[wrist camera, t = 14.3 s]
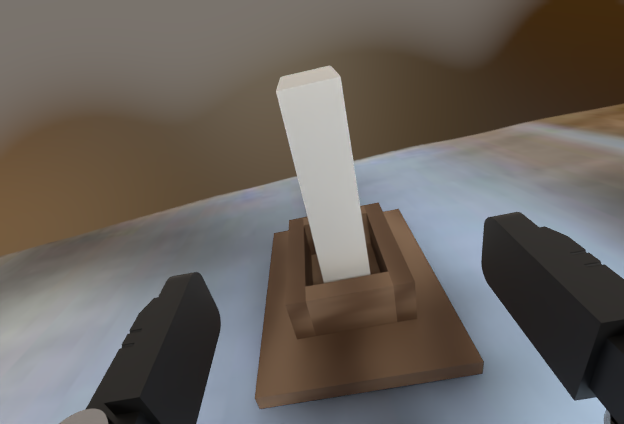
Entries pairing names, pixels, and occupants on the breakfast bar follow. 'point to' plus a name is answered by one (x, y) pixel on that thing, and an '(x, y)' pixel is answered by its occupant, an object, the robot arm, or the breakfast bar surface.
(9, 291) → the breakfast bar surface
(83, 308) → the breakfast bar surface
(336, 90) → the clay bar
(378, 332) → the walnut rack
